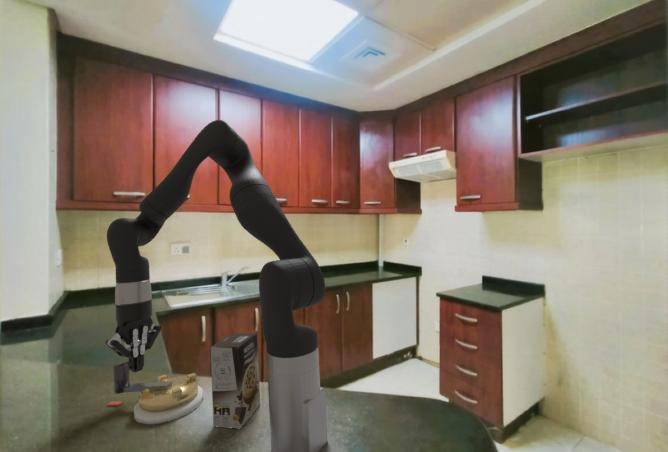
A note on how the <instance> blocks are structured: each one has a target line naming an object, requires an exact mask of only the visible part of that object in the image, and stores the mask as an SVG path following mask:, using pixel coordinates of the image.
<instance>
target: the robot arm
mask: <svg viewBox="0 0 668 452" xmlns="http://www.w3.org/2000/svg"><path fill="white" fill-rule="evenodd" d="M207 158H210V159H211V160H212V161H214V163H216V164H218V165H219V167H221V168H222V169H223V171H224V172H225V173H226V175H227V177H228V178H229V180H230V182H231V187H230V190H229V201H230V204H231V207H232V210H233V212H234V214H235V217H236V219H237V221H238V222H239V225H240V226H241V227H242V228H243V229H244V230H245V231H246V232H247V233H248V234H250V235H251V236H252V237H253V238H255V239H257V240H258V241H259V242H260V243H263V245H265V246H266V247H268V248H269V249H270V250H271V251H272V252H273V253H274V254H275V255H276V256H277V258H278V259H277V260H271V261H268V262H266V263H265V264H264V265H263V266H262V268H261V270H260V273H259V278H258V290H259V291H258V293H259V302H260V308H261V309H260V310H261V311H260V312H261V322H262V323H261V324H262V331H263V336H264V340H265V344H266V365H267V368H266V369H267V383H268V384H267V391H268V407H269V408H268V409H269V411H268V413H269V430H270V449H271V452H320V451H321V450H322V449H323V447H324V446H325V445H326V443H327V442H328V439H329V438H328V423H327V407H326V405H327V403H326V389H325V387H322V386H321V379H320V378H321V377H320V375H321V374H320V358H319V357H320V356H319V339H318V333H317V330H316V328H313V327H311V326H309V325H305V324H297V323H296V322H295V319H294V314H293V311H296V310H300V309H305V308H308V307H312V306H314V305H317V304H319V303H320V302H321V301H322V300H323V298H324V296H325V293H326V282H325V278H324V277H325V276H324V274H323V272H322V270H321V267H320V266H319V264H318V262H317V260H316V259H315V258H314V256H313V255H312V253H311V252H310V250H309V249H308V248H307V246H306V245H305V244H304V242H303V241H302V240H301V239H300V237H299V236H298V233H296V231H295V229H294V228H293V226H292V224H291V222H290V221H289V220H288V218H287V216H286V215H285V213H284V210H283V209H282V208H281V205H280V204H279V201H278V200H277V198H276V196H275V194H274V193H273V191H272V189H271V188H270V185H269V184H268V183H267V181H266V179H265V178H264V177H263V175H262V173H261V172H260V171H259V170H258V168H257V165H256V163H255V161H254V158H253V155H252V153H251V150H250V147H249V145H248V143H247V142H246V140H245V139H244V138H243V137H242V136H241V135H240V134H239V133H238V131H236V130H235V128H233V127H232V126H231V125H230V124H229V122H227V121H225V120H223V119H216V120H215V119H214V120H213V121H211V122H208V124H207V125H205V126H204V127H203V128H202V129H201V130H200V132H198V134H197V135H196V136H195V137H194V138H193V140H192V142H191V143H190V144H189V146H188V147H187V148H186V150H184V152H183V154H182V155H181V156H180V158H179V159H178V160H177V162H176V163H175V165H174V166H173V167H172V169H171V170H170V172H169V173H168V174H167V175H166V176H165V177H164V178H163V180H162V181H161V182H160V183H159V184H157V186H156V187H154V189H152V190H151V192H150V193H148V194H147V195H146V196H145V197H144V198H143V199H142V200H141V201H140V203H139V207H138V208H139V211H140V213H139V215H138V216H136V217H135V218H130V217H128V218H127V217H120V218H116V219H114V220H113V221H112V222H111V223H110V224H109V226H108V227H107V230H106V241H107V242H106V243H107V246H108V248H109V252H110V255H111V258H112V260H113V262H114V265H115V291H114V301H115V305H114V306H115V321H116V324H117V325H116V328H115V331H114V333H115V334H113V336H112V337H111V338H110V339H106V340H105V345H106V346H107V347H109V349H111V350H112V351H114V352H115V353H116V354H117V355H118V356H119V357H122V358H128V362H129V371H130V372H131V373H138V372H140V371H142V370H143V369H144V366H145V353H146V351H148V350H151V348H152V347H153V345H154V344H155V341H156V339H157V337H158V336H159V334H160V333H161V330H162V326H161V325H158V324H157V325H156V324H154V320H153V319H152V316H153V297H152V294H153V293H152V285H151V279H150V278H151V277H150V276H151V275H150V262H149V259H148V258H147V257H145V256H142V255H141V252H140V248H139V247H143V246H146V245H147V244H149V243H150V242H151V241H153V240H154V239H155V238H156V236H157V235H158V234H159V232H160V231H161V229H162V228H163V226H164V224H165V222H166V221H167V220H168V219H169V218H170V217H172V216H173V214H174V213H175V212H177V210H178V209H180V208H181V207H182V206H183V204H184V203H185V202H186V201H187V199H188V196H189V194H190V191H191V188H192V183H193V180H194V176H195V174H196V172H197V169H198V168H199V167H200V165H201V164H202V163H203V162H204V161H205V160H206V159H207ZM122 342H123V344H124V345H123V344H122Z"/></svg>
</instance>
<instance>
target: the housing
mask: <svg viewBox="0 0 668 452" xmlns="http://www.w3.org/2000/svg"><path fill="white" fill-rule="evenodd" d="M202 399H203V400H204V389H203V388H202V387H201V386H200V385H198V393H197V395H196V396H195V397H194V398H192V399H191V400H190V401H188V402H186V403H184V404H182V405H180V406H178V407H175V408H172V409H168V410H164V411H156V412H149V411H144V410H142V409H141V408H140V407H139V401H137V403H136V404H135V405H134V407H133V417H134V420H135V422H137V423H139V424H144V425H157V424H163V422H164V423H168V422H171V420H172V421H175V420H176V419H180V418H182V417H185V416H186V415H188V414H191V413H192V412H193V411H195V410H196V409H197V408H198V407H200V405H201V404H202V403H203V401H202ZM201 402H202V403H201ZM200 403H201V404H200ZM199 404H200V405H199ZM195 408H196V409H195ZM194 409H195V410H194ZM174 419H175V420H174ZM167 421H168V422H167Z"/></svg>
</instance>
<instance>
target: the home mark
mask: <svg viewBox="0 0 668 452" xmlns="http://www.w3.org/2000/svg"><path fill="white" fill-rule="evenodd" d="M123 404H124V401H110V402H108V403H107V404H106V405H107V407H120V406H121V405H123Z"/></svg>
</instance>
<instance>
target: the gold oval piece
mask: <svg viewBox="0 0 668 452" xmlns="http://www.w3.org/2000/svg"><path fill="white" fill-rule="evenodd" d="M112 367H113V368H112V369H113V392H114V394H116V395H117V394H123V393H137V392H139V395H138V402H139V407H140V408H141V409H142V410H144V411H149V412H156V411H164V410H168V409H172V408H175V407H178V406H180V405H182V404H184V403H186V402H188V401H190V400H191V399H192V398H194V397H195V396H196V395H197V393H198V386H199V381H198V378H197V374H196V373H195V372H192V373H189V374H186V375H179V376H173V377H172V376H171V377H168V375H167V374H165V373H164V374H163V375H159V376H157V381H155V382H152V381H151V382H138V383H135V382H134V383H131V380H130V379H131V378H130V377H131V376H130V369H129V360H128V361H126V360H125V361H120V362H117V363H115V364H113V365H112Z"/></svg>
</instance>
